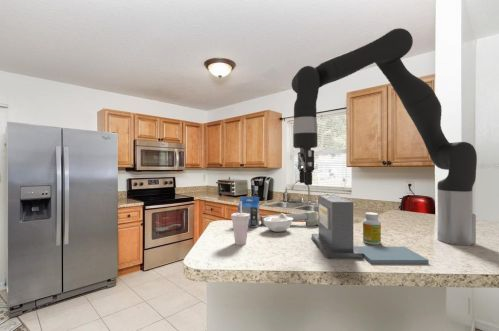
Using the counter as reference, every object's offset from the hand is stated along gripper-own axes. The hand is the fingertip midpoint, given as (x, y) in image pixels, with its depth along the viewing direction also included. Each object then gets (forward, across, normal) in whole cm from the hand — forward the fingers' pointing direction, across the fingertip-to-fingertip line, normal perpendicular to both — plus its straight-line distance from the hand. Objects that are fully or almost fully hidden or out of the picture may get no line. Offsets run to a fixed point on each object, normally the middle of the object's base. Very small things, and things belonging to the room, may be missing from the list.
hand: (305, 183), depth 82 cm
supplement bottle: (+20, +5, -23) cm, 31 cm away
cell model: (+20, +20, +7) cm, 29 cm away
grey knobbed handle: (+21, +30, +1) cm, 36 cm away
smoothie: (+20, +4, +21) cm, 29 cm away
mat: (+20, -8, -22) cm, 31 cm away
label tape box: (+20, +28, +19) cm, 40 cm away
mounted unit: (+20, 0, -9) cm, 22 cm away
